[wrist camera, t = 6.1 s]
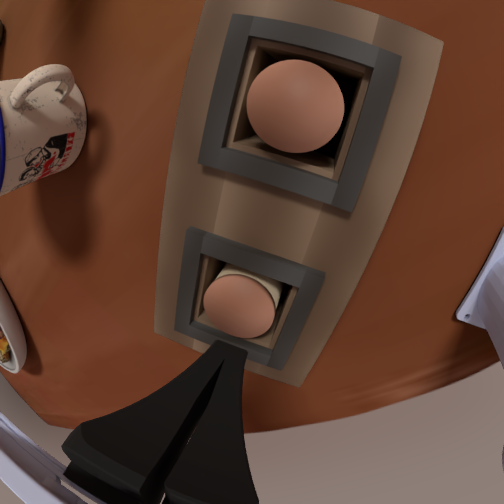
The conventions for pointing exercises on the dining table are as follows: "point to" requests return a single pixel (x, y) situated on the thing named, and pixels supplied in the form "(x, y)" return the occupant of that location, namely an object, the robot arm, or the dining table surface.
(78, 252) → the dining table surface
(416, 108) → the walnut block
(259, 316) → the peg
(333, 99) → the peg
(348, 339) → the dining table surface
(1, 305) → the bowl
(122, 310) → the dining table surface
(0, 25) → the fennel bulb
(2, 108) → the teacup with lid
